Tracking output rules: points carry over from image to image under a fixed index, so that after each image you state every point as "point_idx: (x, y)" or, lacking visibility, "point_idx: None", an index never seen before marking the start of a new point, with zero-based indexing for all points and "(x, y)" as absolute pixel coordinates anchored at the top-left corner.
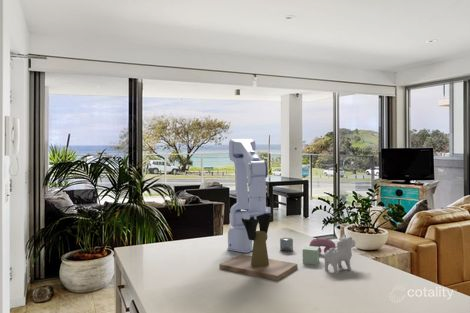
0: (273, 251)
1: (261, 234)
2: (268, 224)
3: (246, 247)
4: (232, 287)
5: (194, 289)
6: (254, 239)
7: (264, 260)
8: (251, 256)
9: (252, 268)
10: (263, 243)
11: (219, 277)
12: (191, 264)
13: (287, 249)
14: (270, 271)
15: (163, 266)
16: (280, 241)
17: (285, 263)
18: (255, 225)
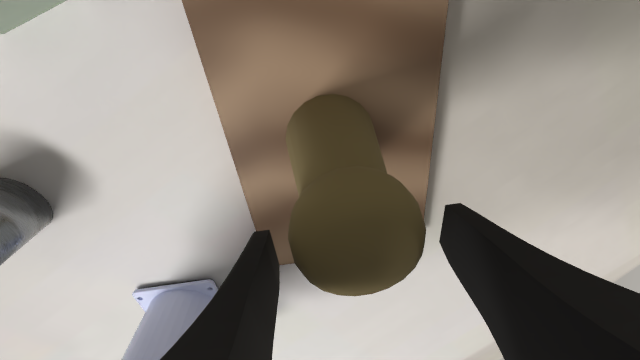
0: (92, 232)
1: (406, 212)
2: (222, 311)
3: (193, 302)
4: (593, 68)
5: (634, 160)
6: (461, 205)
7: (351, 109)
8: (265, 228)
9: (406, 124)
10: (364, 163)
11: (498, 178)
12: (419, 302)
13: (16, 193)
14: (404, 16)
15: (467, 326)
16: (11, 252)
17: (227, 34)
18: (620, 299)
